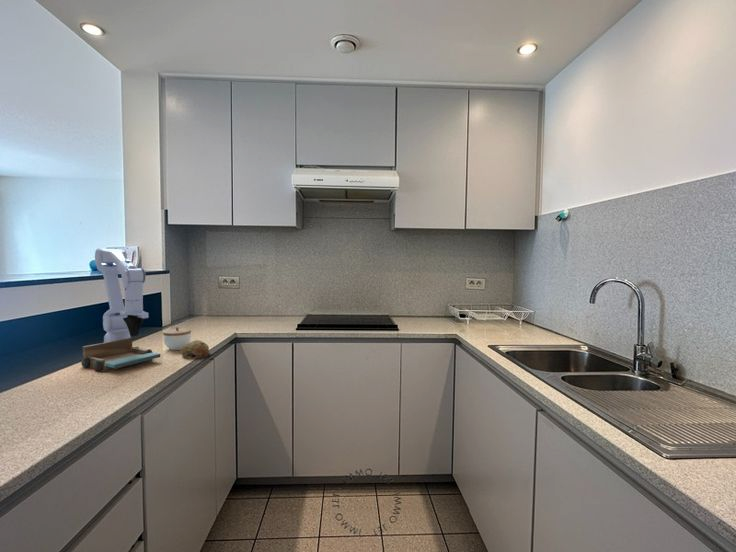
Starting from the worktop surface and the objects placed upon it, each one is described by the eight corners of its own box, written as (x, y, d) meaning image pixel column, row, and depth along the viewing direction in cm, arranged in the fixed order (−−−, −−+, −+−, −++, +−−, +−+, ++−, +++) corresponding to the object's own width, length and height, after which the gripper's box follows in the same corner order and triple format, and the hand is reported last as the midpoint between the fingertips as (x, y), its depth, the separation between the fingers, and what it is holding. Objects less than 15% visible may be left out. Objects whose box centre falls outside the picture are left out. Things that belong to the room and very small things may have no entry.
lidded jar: (192, 344, 155) (192, 324, 155) (189, 350, 145) (189, 328, 145) (165, 346, 152) (165, 325, 151) (160, 352, 141) (160, 330, 141)
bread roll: (180, 367, 134) (177, 351, 130) (185, 350, 142) (183, 335, 139) (207, 365, 136) (205, 350, 133) (211, 349, 145) (210, 334, 142)
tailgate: (106, 362, 116) (114, 364, 114) (151, 352, 130) (160, 353, 128) (106, 366, 116) (114, 368, 114) (151, 355, 130) (160, 357, 128)
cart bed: (79, 366, 121) (79, 347, 121) (132, 354, 137) (132, 337, 137) (101, 372, 115) (101, 352, 115) (154, 359, 131) (154, 341, 131)
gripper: (111, 299, 129) (111, 335, 129) (134, 302, 123) (134, 339, 123) (130, 298, 135) (131, 332, 136) (153, 300, 129) (154, 336, 130)
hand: (134, 335), depth 130 cm, fingers closed
